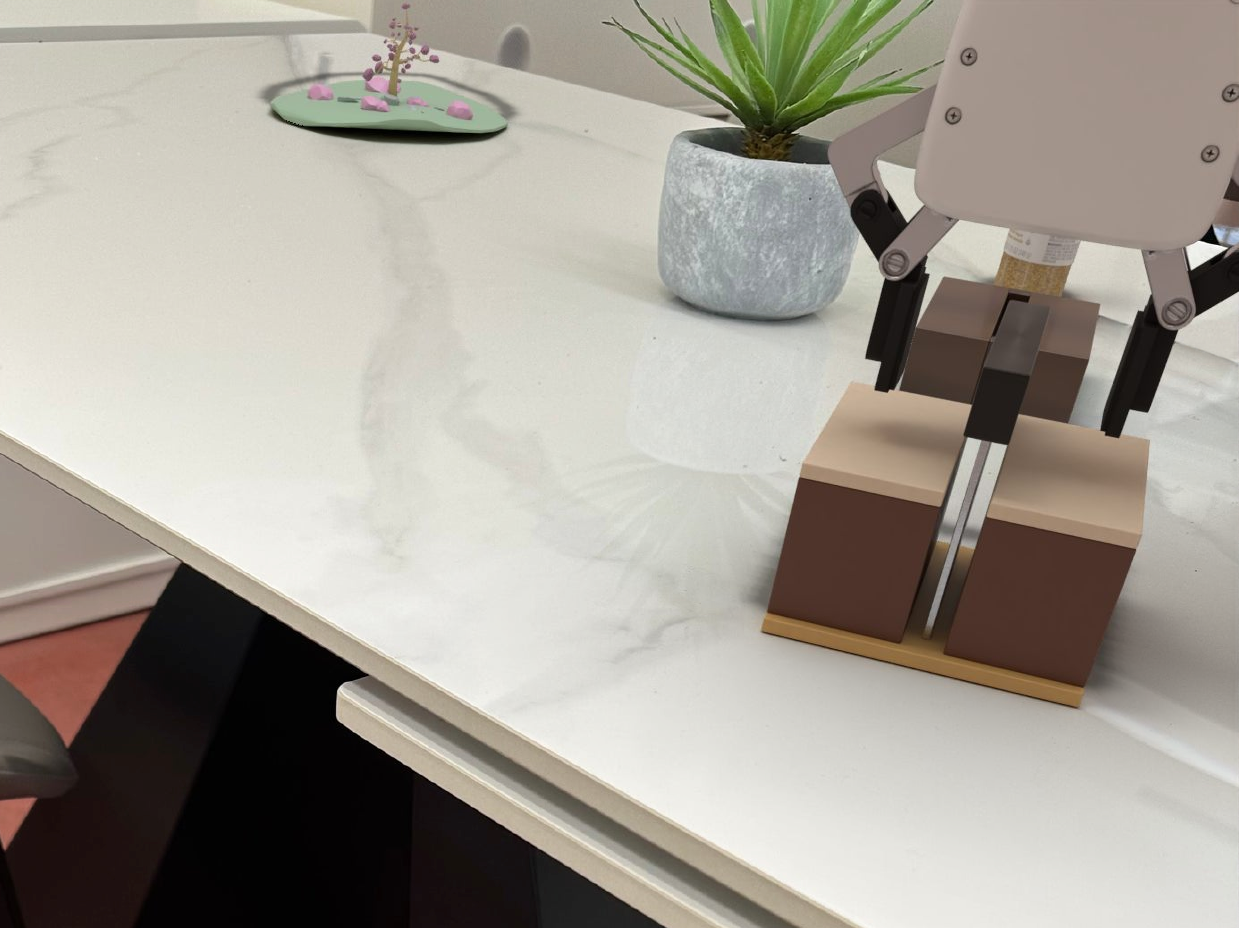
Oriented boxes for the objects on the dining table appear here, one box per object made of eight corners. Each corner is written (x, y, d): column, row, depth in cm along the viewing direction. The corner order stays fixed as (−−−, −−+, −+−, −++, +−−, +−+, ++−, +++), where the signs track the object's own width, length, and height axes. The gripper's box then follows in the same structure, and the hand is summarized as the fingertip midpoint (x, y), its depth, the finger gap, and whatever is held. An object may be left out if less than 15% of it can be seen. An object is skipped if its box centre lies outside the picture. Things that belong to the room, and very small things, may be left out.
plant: (270, 78, 152) (274, -33, 146) (489, 94, 153) (500, -15, 148) (269, 134, 132) (273, 8, 126) (521, 152, 133) (535, 28, 128)
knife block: (924, 345, 97) (943, 276, 95) (1077, 374, 95) (1100, 303, 92) (895, 402, 88) (915, 327, 86) (1064, 435, 86) (1089, 359, 83)
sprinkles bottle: (972, 300, 106) (1037, 72, 98) (1033, 300, 107) (1102, 74, 99) (1010, 322, 103) (1081, 87, 95) (1072, 322, 104) (1148, 89, 96)
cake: (815, 527, 73) (853, 377, 69) (1094, 588, 69) (1150, 435, 66) (760, 631, 64) (799, 466, 60) (1078, 708, 60) (1142, 539, 56)
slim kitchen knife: (935, 549, 70) (1009, 299, 64) (973, 557, 70) (1051, 306, 64) (902, 640, 63) (983, 366, 56) (944, 650, 62) (1030, 375, 56)
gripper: (1456, -123, 52) (1240, 422, 62) (903, -178, 56) (789, 336, 67) (1488, -113, 46) (1244, 485, 56) (870, -175, 51) (750, 386, 61)
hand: (998, 401), depth 62 cm, fingers open, 7 cm apart
